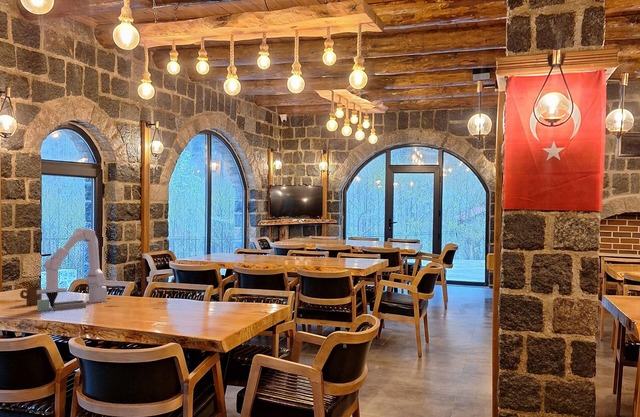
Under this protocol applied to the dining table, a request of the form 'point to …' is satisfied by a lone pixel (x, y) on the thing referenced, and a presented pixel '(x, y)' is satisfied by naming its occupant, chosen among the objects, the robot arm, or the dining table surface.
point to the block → (42, 305)
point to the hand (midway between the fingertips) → (51, 306)
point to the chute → (69, 305)
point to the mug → (31, 295)
